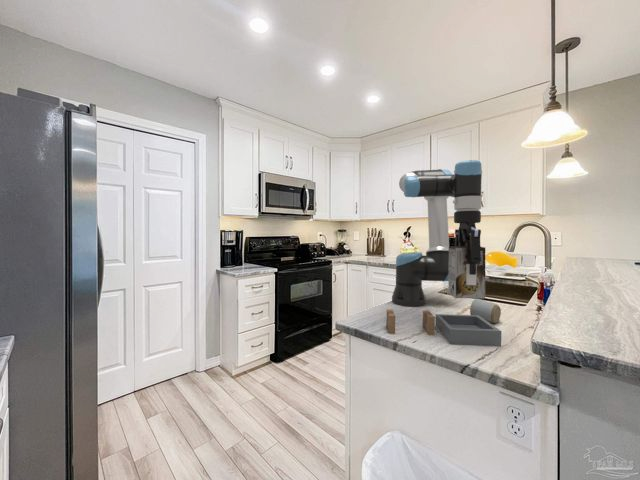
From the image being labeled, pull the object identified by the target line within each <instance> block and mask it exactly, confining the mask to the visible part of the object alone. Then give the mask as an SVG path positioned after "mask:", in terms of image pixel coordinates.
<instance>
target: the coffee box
mask: <svg viewBox="0 0 640 480" xmlns="http://www.w3.org/2000/svg"><path fill="white" fill-rule="evenodd" d="M480 250H481V262H480V263H478V264H477V270H476V285H466V263H465V262H468V260H467V248H466V246H455V245H451V246H450V245H449V281H448V292H447V293H448V295H449V296H451V297H452V298H454V299H486V247H483V246H480Z"/></svg>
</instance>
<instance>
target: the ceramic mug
mask: <svg viewBox="0 0 640 480" xmlns="http://www.w3.org/2000/svg"><path fill="white" fill-rule="evenodd" d="M501 311H502V309H501V307H500V305H499V304H496V303H493V302H489V301H487V300H484V299H481V298H473V299H472V302H471V305H470V309H469V312H470V314H469V315H479V316H480V317H482V318H483V319H484V320H486V321H487V322H489V323H490V324H496V323H498V322H499V320H500V318H501V314H502V312H501Z"/></svg>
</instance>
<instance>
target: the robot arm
mask: <svg viewBox="0 0 640 480" xmlns="http://www.w3.org/2000/svg"><path fill="white" fill-rule="evenodd" d="M453 173H454V174H453ZM453 173H452V171H450V170H449V169H442V168H440V169H427V170H426V169H423V170H422V169H421V170H414V171H413V170H412V171H410V172H407V173H405V174H404V175H402V176H401V178H400V179H399V183H398V184H399V188H400V190H401V191H402V192H403V195H404V197H406V198H422V197H423V199H424V200H426V202H427V223H428V249H427V250H426V252H425V255H423V252H419V251H418V252H417V251H416V252H405V253H400V254H398V255H397V256H396V260H395V287H394V290H393V292H392V296H391V302H392V304H395V305H398V306H403V307H423V306H425V305H426V303H427V302H426V301H427V299H426V296H425V293H424V289H423V286H422V285H423V281H428V282H449V246H450V236H449V217H448V216H449V215H448V198H450V197H451V198H454V200H452V203H453V204H454V206H453V207H454V211H455V212H454V213H453V223H454V224H458V225H459V227H458V229H454V238H455V239H454V246H466V248H467V260H468V262H465V263H466V285H476V270H477V264H478V263H480V262H481V250H480V247H481V235H482V229H477V227H476V224H480V223H481V222H482V213H481V211H480V210H481V209H482V177H483V176H482V175H483V170H482V162H481V161H480V160H476V159H471V160H470V159H469V160H462V161H459V162H457V163H455V165H454V171H453Z"/></svg>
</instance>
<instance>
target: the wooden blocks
mask: <svg viewBox="0 0 640 480" xmlns="http://www.w3.org/2000/svg"><path fill="white" fill-rule="evenodd" d="M385 315H386V317H385V318H386V325H385V326H386V329H387V331H388V333H389V334H396V314H395V312H394V310H393V309H387V308H386V313H385ZM422 328H423V330H424V331H425V333H426V335H428V336H435V316H434V314H432V312H431V311H430V310H427V309H423V310H422Z"/></svg>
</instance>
